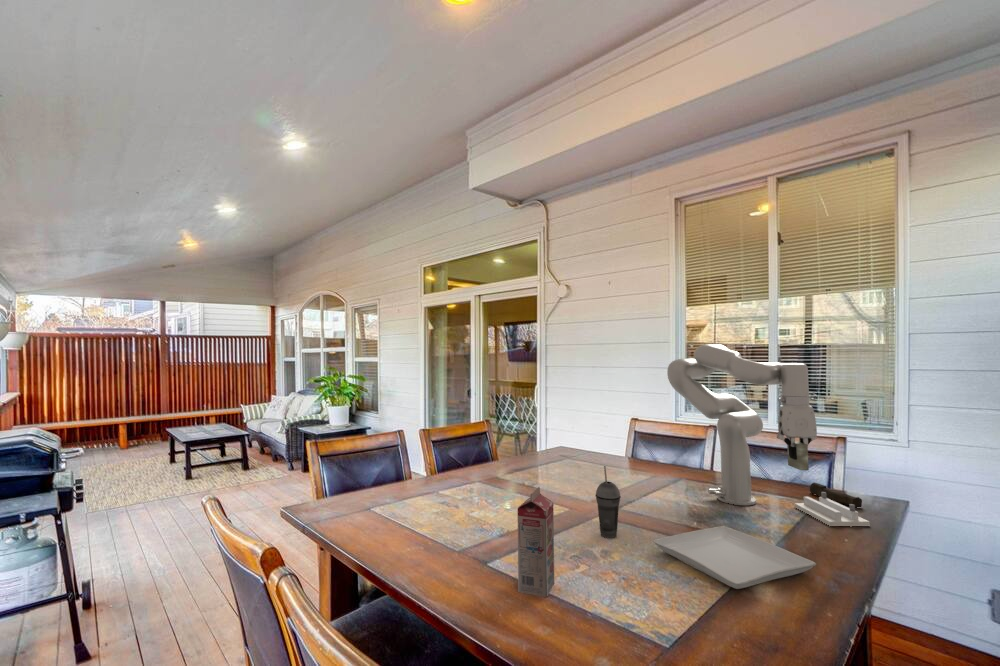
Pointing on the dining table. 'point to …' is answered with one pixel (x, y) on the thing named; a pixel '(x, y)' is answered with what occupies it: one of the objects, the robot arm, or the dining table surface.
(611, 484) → the beverage cup
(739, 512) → the dining table surface
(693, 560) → the square plate
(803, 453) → the rectangular block
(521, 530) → the juice carton
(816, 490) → the hand tool
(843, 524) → the slider channel
